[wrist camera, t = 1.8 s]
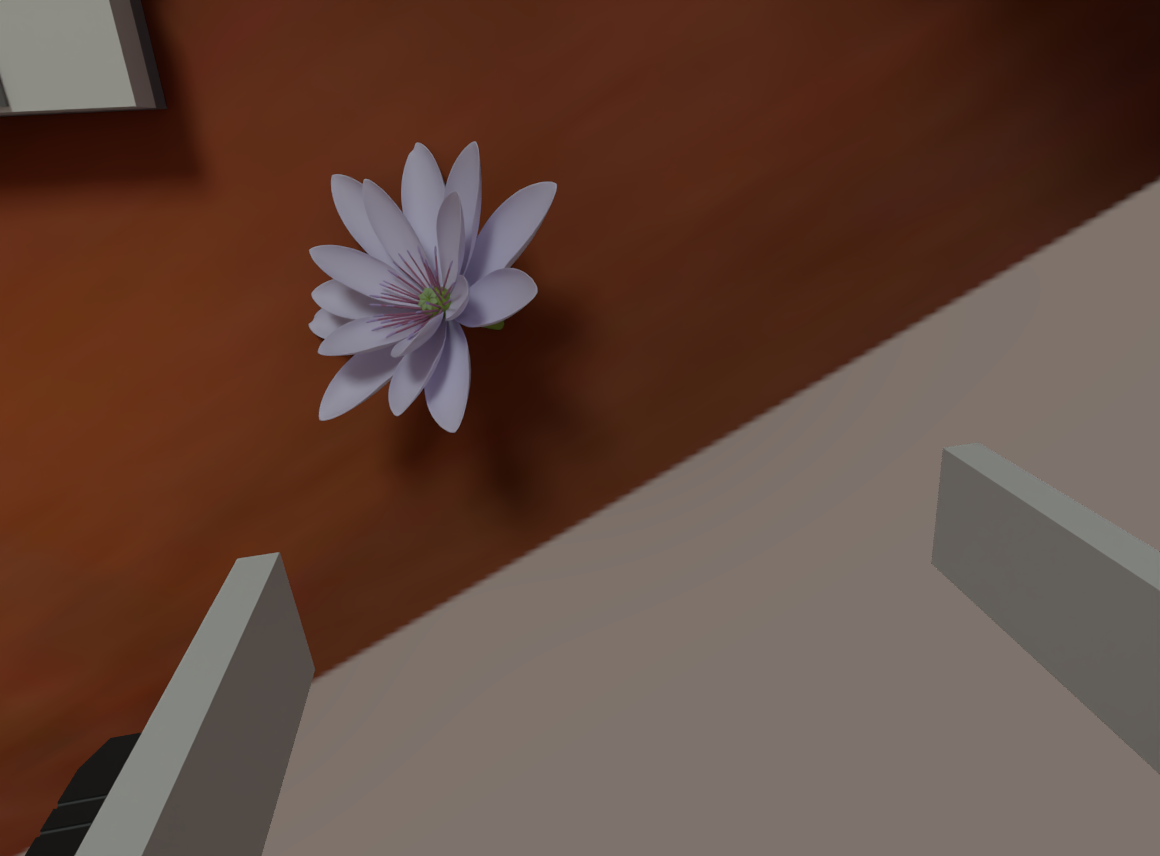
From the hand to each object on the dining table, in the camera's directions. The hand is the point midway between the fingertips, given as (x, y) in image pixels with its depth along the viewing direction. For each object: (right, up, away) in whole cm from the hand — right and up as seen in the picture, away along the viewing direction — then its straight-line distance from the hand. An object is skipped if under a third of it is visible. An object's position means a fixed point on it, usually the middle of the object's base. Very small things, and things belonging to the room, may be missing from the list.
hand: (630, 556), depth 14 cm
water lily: (-9, +11, +21) cm, 26 cm away
